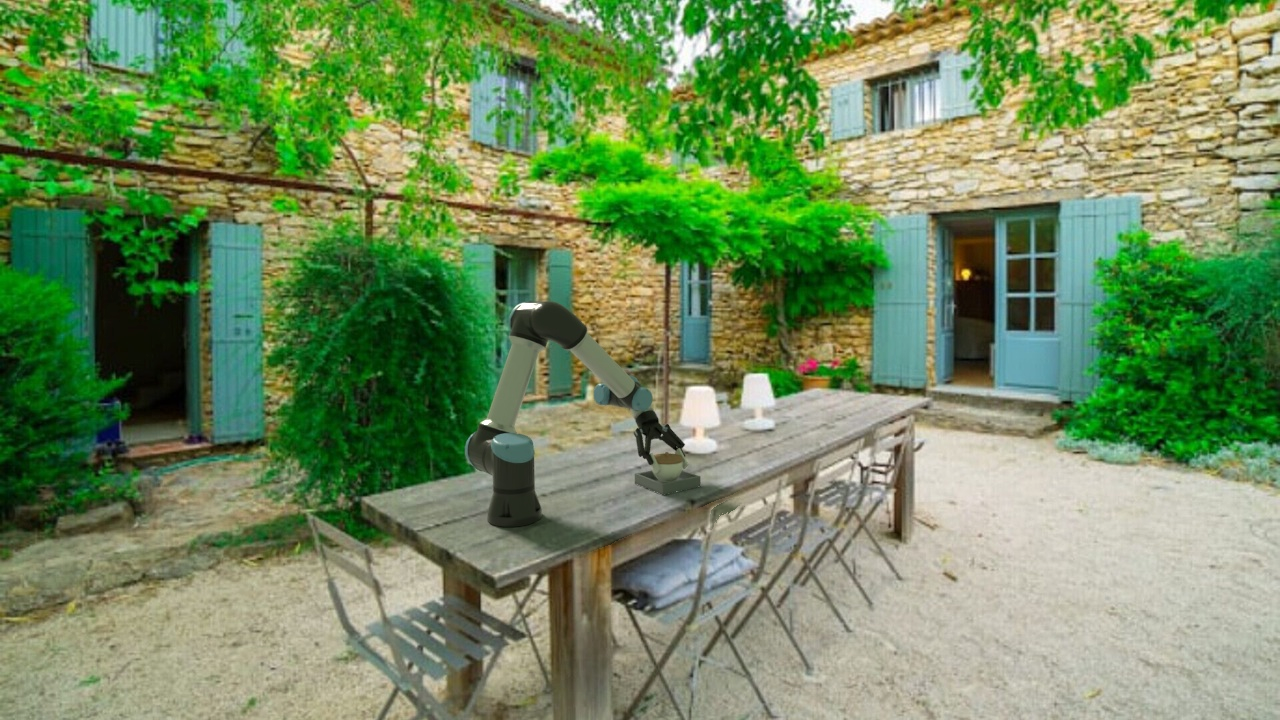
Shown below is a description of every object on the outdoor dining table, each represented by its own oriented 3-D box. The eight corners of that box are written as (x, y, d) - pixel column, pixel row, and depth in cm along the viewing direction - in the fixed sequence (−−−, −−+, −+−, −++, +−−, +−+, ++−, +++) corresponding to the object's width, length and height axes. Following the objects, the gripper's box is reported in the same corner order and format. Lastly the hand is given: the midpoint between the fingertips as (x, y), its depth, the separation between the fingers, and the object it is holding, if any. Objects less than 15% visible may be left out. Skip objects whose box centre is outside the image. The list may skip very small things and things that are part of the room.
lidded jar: (683, 475, 212) (683, 448, 212) (682, 485, 202) (682, 456, 201) (652, 475, 213) (651, 448, 213) (649, 484, 203) (649, 456, 202)
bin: (662, 495, 197) (662, 484, 197) (634, 483, 210) (634, 473, 209) (700, 486, 206) (700, 476, 206) (671, 476, 219) (671, 466, 218)
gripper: (666, 418, 225) (694, 469, 214) (612, 426, 212) (638, 481, 201) (675, 405, 220) (704, 457, 209) (620, 412, 207) (648, 468, 196)
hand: (672, 469), depth 205 cm, fingers open, 11 cm apart
